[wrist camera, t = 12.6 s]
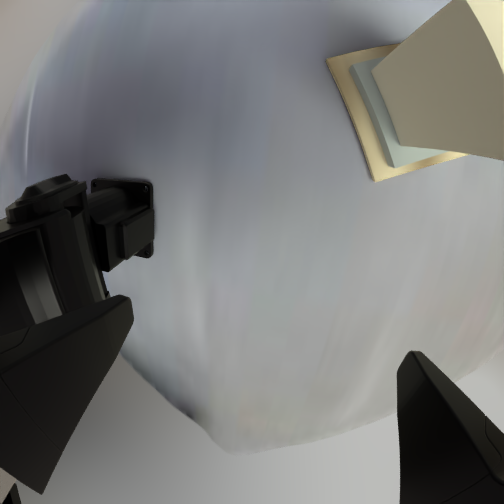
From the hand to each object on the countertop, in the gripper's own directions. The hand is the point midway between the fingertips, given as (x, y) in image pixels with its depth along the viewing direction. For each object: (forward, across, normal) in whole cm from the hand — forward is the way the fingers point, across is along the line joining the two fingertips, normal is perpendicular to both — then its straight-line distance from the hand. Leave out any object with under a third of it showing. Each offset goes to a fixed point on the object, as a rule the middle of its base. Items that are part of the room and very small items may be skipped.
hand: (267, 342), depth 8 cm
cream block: (+11, -7, -10) cm, 16 cm away
